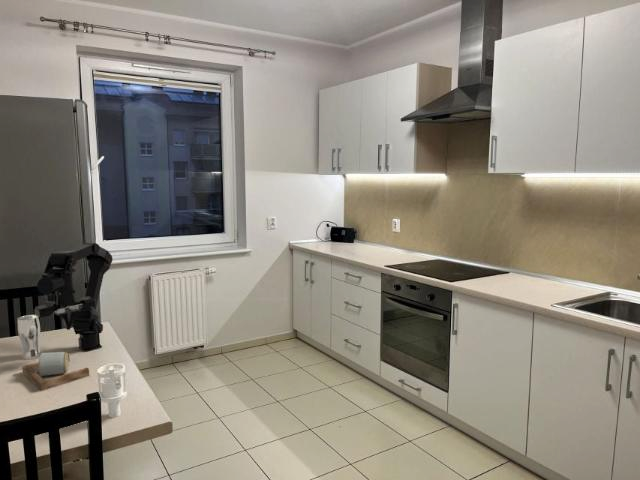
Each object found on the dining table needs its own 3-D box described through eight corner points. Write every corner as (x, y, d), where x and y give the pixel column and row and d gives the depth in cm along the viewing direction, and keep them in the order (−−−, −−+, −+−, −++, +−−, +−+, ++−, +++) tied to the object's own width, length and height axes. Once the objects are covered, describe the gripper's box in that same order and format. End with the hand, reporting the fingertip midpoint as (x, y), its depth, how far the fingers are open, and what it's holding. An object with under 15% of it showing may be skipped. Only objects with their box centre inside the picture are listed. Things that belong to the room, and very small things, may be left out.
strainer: (101, 423, 128) (97, 371, 126) (100, 411, 135) (96, 362, 132) (128, 417, 131) (125, 367, 129) (127, 406, 137) (123, 357, 135)
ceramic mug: (67, 376, 158) (65, 354, 157) (39, 380, 155) (37, 357, 154) (71, 364, 168) (69, 343, 167) (44, 368, 165) (43, 347, 164)
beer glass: (20, 361, 170) (15, 321, 168) (21, 354, 176) (17, 316, 174) (42, 357, 173) (38, 318, 171) (43, 351, 179) (39, 313, 177)
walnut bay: (68, 360, 171) (67, 353, 170) (89, 375, 158) (88, 368, 158) (22, 373, 160) (22, 366, 160) (41, 390, 147) (41, 383, 147)
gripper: (82, 279, 178) (86, 318, 180) (27, 288, 164) (31, 331, 167) (95, 283, 170) (98, 325, 173) (38, 294, 157) (42, 338, 159)
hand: (68, 329), depth 168 cm, fingers closed
